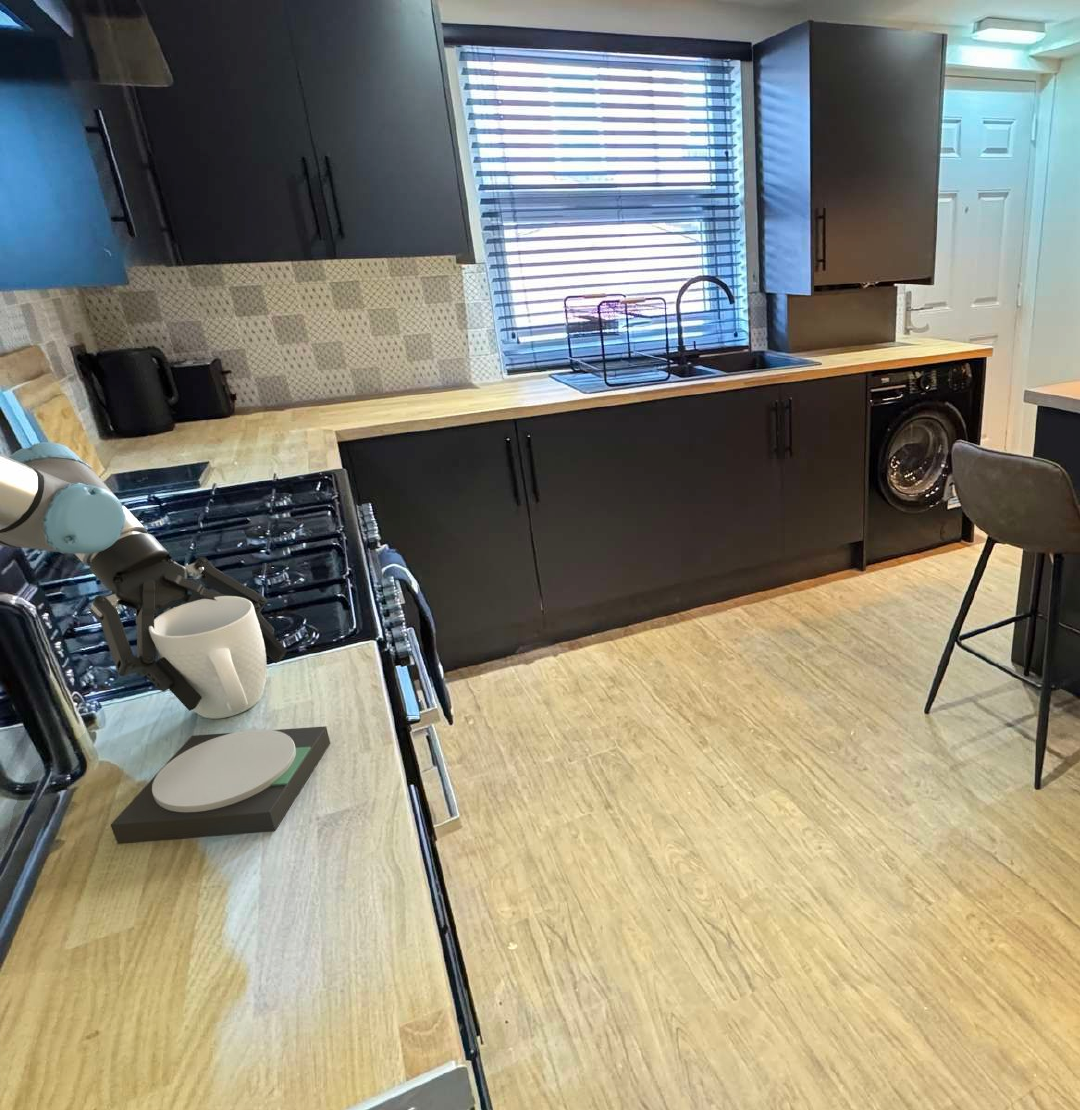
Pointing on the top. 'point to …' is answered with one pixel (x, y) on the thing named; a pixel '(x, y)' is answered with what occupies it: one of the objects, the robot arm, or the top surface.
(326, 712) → the top surface
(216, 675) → the mug
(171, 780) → the scale
